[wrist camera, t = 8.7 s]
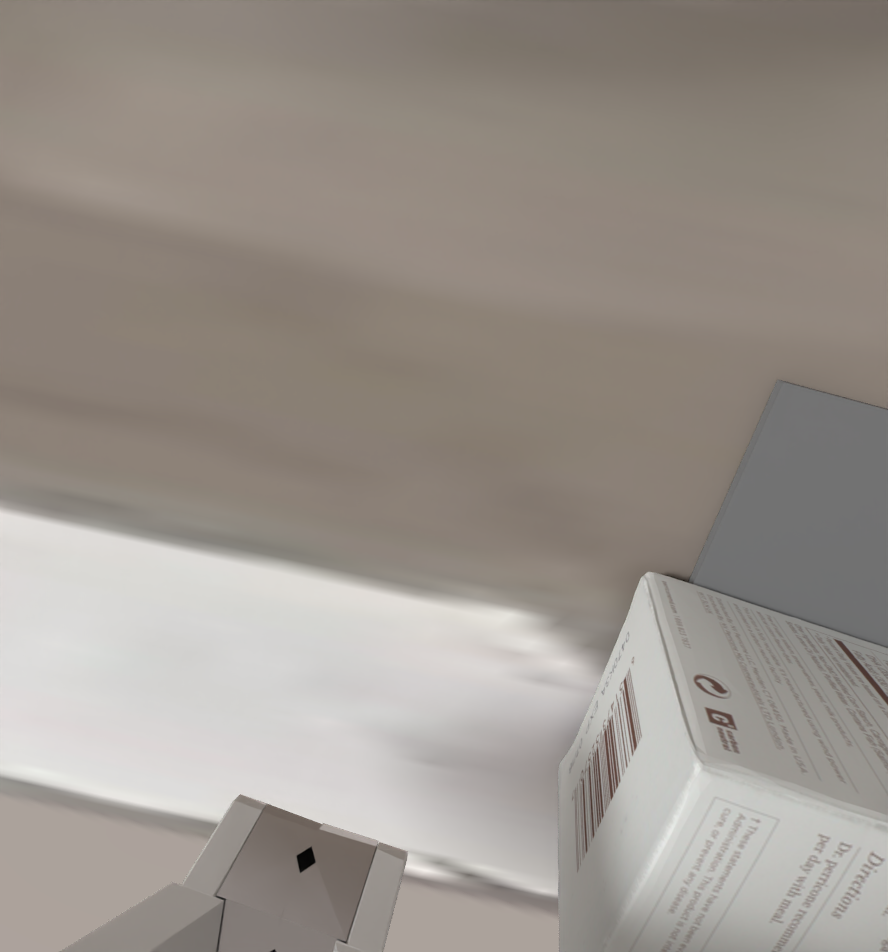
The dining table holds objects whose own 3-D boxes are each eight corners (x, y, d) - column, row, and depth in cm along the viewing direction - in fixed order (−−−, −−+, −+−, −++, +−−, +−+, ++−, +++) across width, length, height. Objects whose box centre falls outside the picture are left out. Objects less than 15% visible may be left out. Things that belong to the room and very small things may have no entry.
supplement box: (554, 762, 19) (967, 911, 18) (551, 1036, 12) (1227, 1308, 11) (642, 558, 17) (1125, 717, 16) (703, 753, 10) (1590, 1066, 9)
